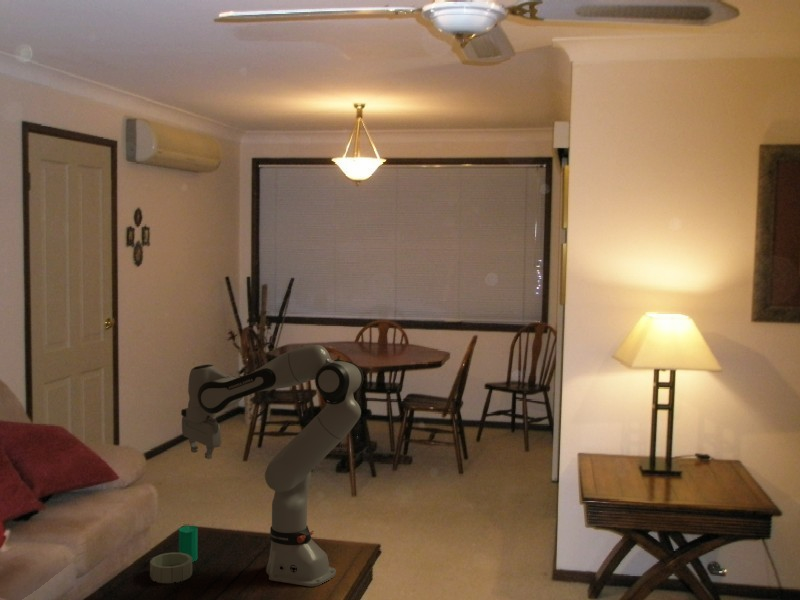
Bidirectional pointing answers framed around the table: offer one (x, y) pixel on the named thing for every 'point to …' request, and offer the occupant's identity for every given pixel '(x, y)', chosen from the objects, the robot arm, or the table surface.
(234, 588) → the table surface
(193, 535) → the candle
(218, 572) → the table surface
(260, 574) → the table surface
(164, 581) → the dish
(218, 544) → the table surface
